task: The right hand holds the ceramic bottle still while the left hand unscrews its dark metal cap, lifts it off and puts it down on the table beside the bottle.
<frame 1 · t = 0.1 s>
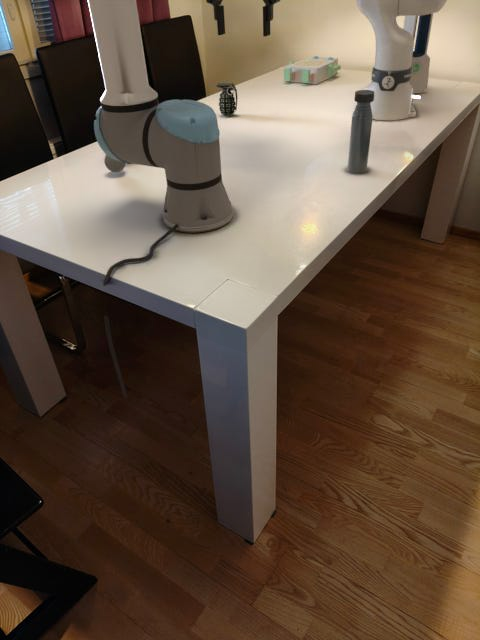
left hand: (243, 35, 129), 28 cm above the table, tool pointing down, fingers open, 13 cm apart
electronic device: (406, 92, 183), on the table
molecular model: (140, 158, 140), on the table
decorative block: (311, 78, 208), on the table
grenade: (228, 115, 169), on the table
cap: (364, 93, 114), point 18 cm above the table, screwed on, not yet turned
bottle: (356, 170, 125), on the table
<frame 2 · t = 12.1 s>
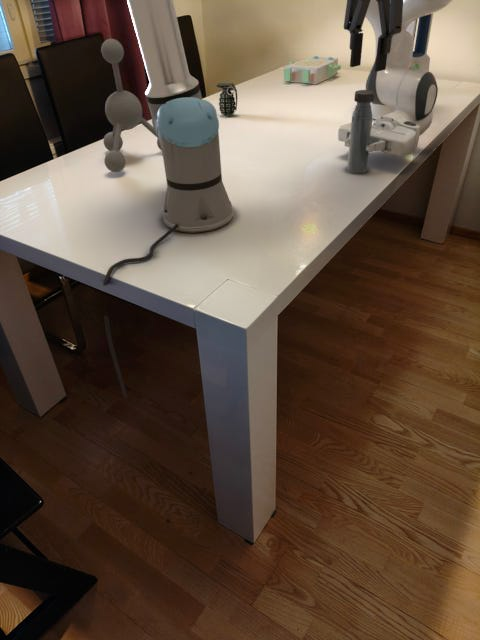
left hand: (367, 67, 110), 24 cm above the table, tool pointing down, fingers open, 7 cm apart
right hand: (357, 146, 120), 6 cm above the table, tool horizontal, fingers closed on bottle, 5 cm apart
bottle: (356, 170, 125), on the table, touching right hand
everything else where it was.
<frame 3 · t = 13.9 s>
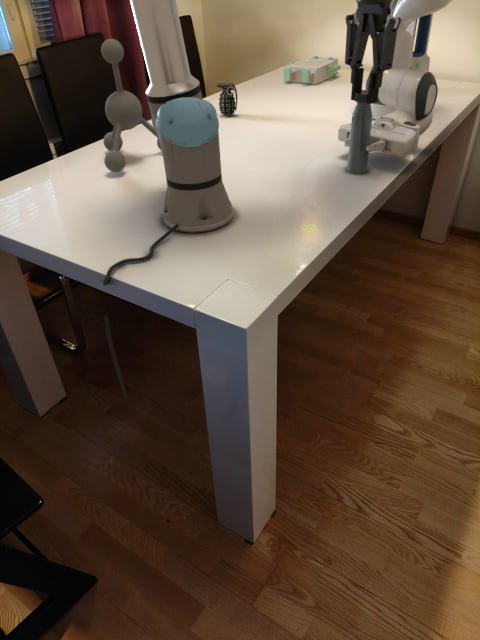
left hand: (363, 100, 114), 17 cm above the table, tool pointing down, fingers closed on cap, 4 cm apart
right hand: (357, 146, 120), 6 cm above the table, tool horizontal, fingers closed on bottle, 5 cm apart
cap: (364, 93, 114), point 18 cm above the table, screwed on, not yet turned, touching left hand
bottle: (356, 170, 125), on the table, touching right hand
everything else where it was.
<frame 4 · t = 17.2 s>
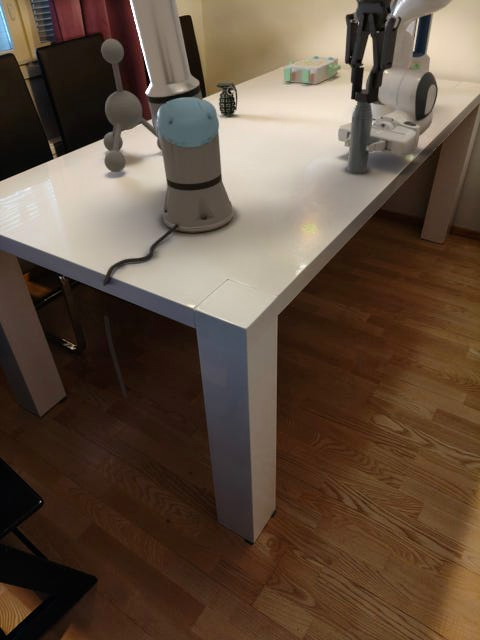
left hand: (364, 100, 114), 17 cm above the table, tool pointing down, fingers closed on cap, 4 cm apart
right hand: (357, 146, 120), 6 cm above the table, tool horizontal, fingers closed on bottle, 5 cm apart
cap: (364, 92, 113), point 18 cm above the table, turned 121° so far, risen 0.1 cm, still on its thread, touching left hand
bottle: (356, 170, 125), on the table, touching right hand
everything else where it was.
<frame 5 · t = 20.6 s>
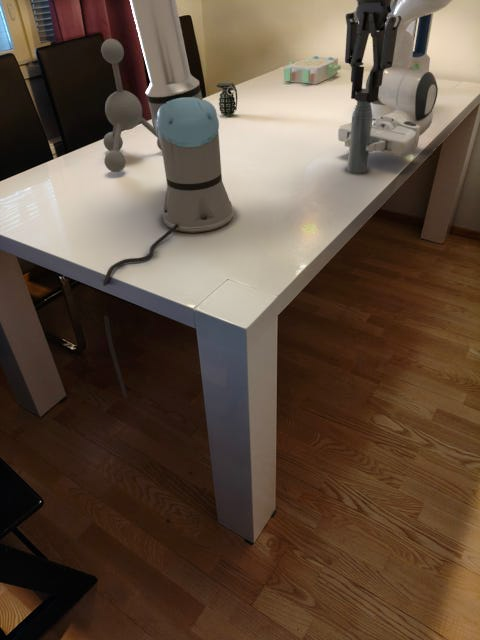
left hand: (364, 99, 114), 17 cm above the table, tool pointing down, fingers closed on cap, 4 cm apart
right hand: (357, 146, 120), 6 cm above the table, tool horizontal, fingers closed on bottle, 5 cm apart
cap: (364, 92, 113), point 19 cm above the table, turned 242° so far, risen 0.3 cm, still on its thread, touching left hand
bottle: (356, 170, 125), on the table, touching right hand
everything else where it was.
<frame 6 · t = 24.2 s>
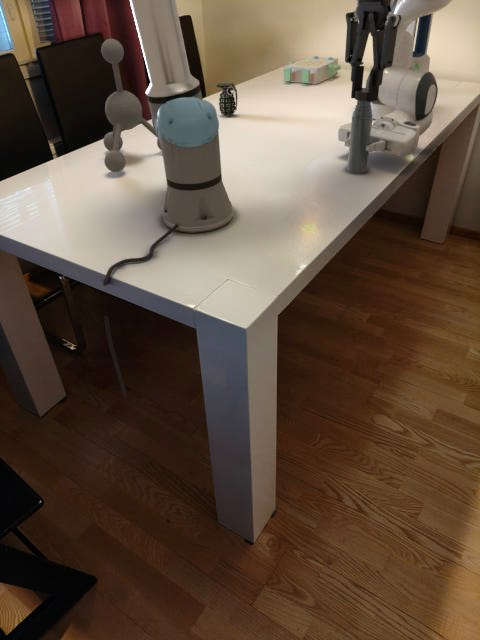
left hand: (364, 98, 114), 17 cm above the table, tool pointing down, fingers closed on cap, 4 cm apart
right hand: (357, 146, 120), 6 cm above the table, tool horizontal, fingers closed on bottle, 5 cm apart
cap: (364, 91, 113), point 19 cm above the table, turned 364° so far, risen 0.4 cm, still on its thread, touching left hand
bottle: (356, 170, 125), on the table, touching right hand
everything else where it was.
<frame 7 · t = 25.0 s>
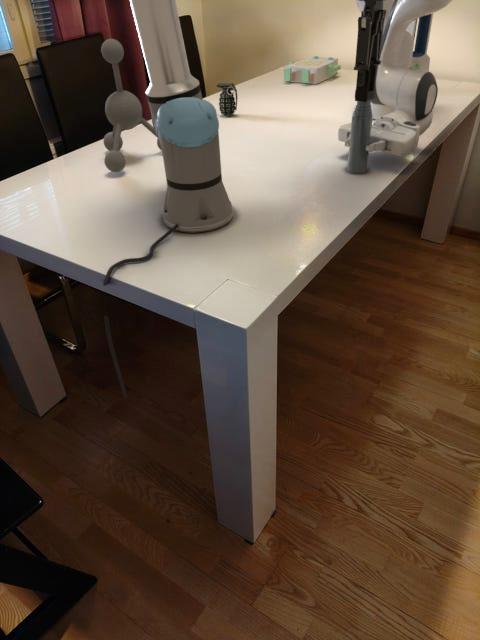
left hand: (364, 98, 114), 17 cm above the table, tool pointing down, fingers closed on cap, 4 cm apart
right hand: (357, 146, 120), 6 cm above the table, tool horizontal, fingers closed on bottle, 5 cm apart
cap: (364, 90, 113), point 19 cm above the table, off its thread, touching left hand
bottle: (356, 170, 125), on the table, touching right hand
everything else where it was.
when the left hand's fingers open (1 cm above the table, at t = 30.3 s): cap stays where it is, point 2 cm above the table.
when the right hand's fingers open (6 cm above the table, at t = 31.6 s): bottle stays where it is, on the table.
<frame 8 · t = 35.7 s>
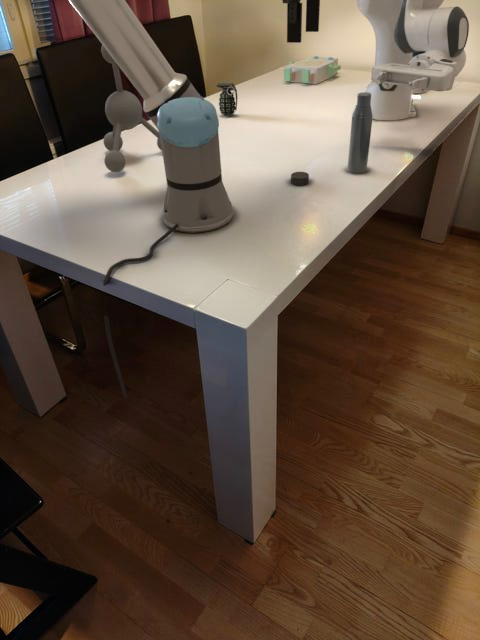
left hand: (303, 36, 101), 31 cm above the table, tool pointing down, fingers open, 13 cm apart
right hand: (394, 82, 120), 18 cm above the table, tool horizontal, fingers open, 8 cm apart
cap: (299, 176, 119), point 2 cm above the table, off its thread
bottle: (356, 170, 125), on the table
everything else where it was.
at the end: cap came off its thread; cap point 1.5 cm above the table; the left hand is holding nothing; the right hand is holding nothing; bottle tilted 0°; bottle moved 0.0 cm from its start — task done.
